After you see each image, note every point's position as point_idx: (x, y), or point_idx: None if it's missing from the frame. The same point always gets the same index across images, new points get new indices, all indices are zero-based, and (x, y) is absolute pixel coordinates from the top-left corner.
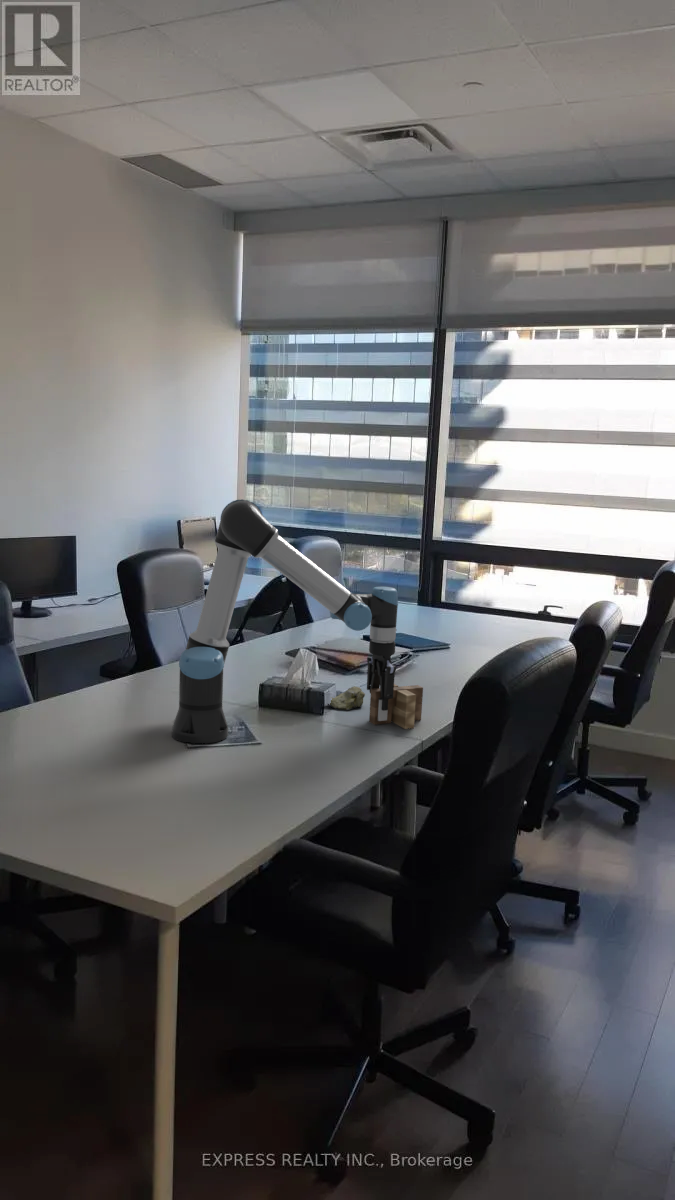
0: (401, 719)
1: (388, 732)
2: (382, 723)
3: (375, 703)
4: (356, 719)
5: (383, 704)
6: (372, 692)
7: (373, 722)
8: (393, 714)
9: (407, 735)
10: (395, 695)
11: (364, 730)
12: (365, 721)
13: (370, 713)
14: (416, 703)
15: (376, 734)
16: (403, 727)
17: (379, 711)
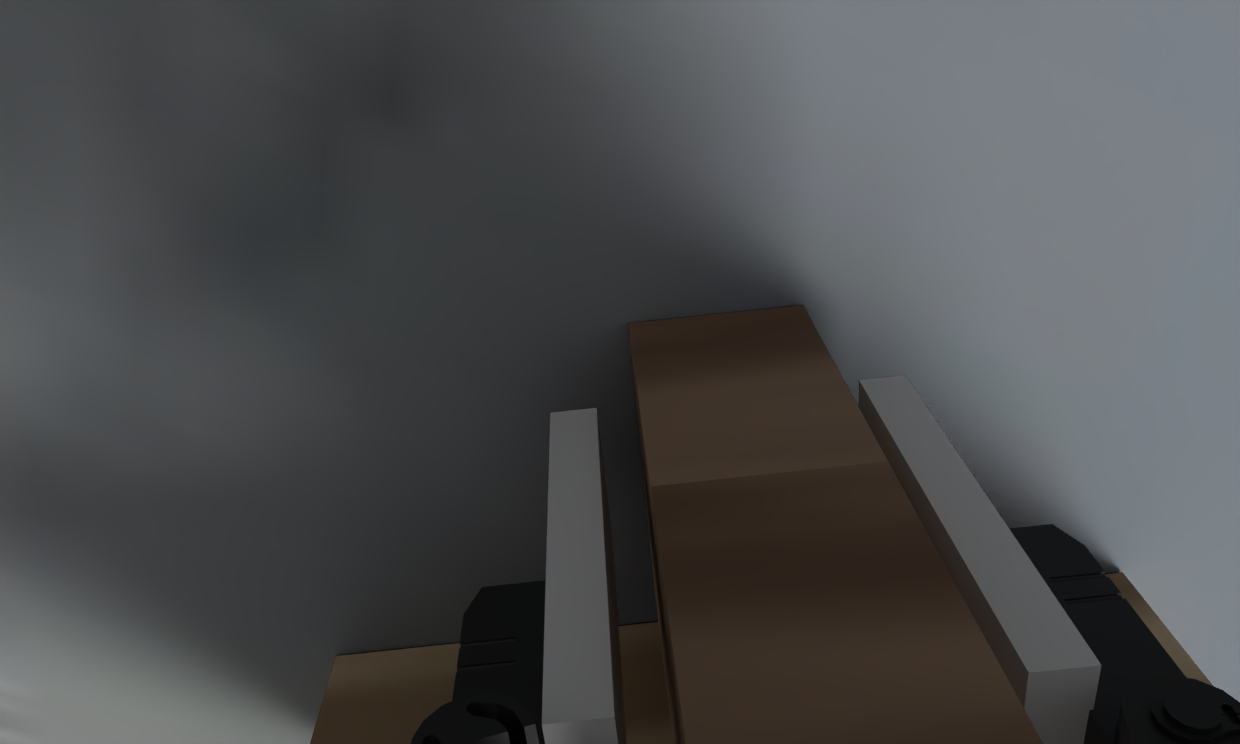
0: None
1: (188, 398)
2: (642, 465)
3: (661, 564)
4: (1009, 138)
5: (466, 689)
6: (908, 731)
7: (651, 334)
8: None
9: (35, 597)
10: None
11: (326, 30)
12: (845, 252)
13: (804, 380)
14: None
15: (69, 165)
16: (376, 660)
17: (549, 519)
